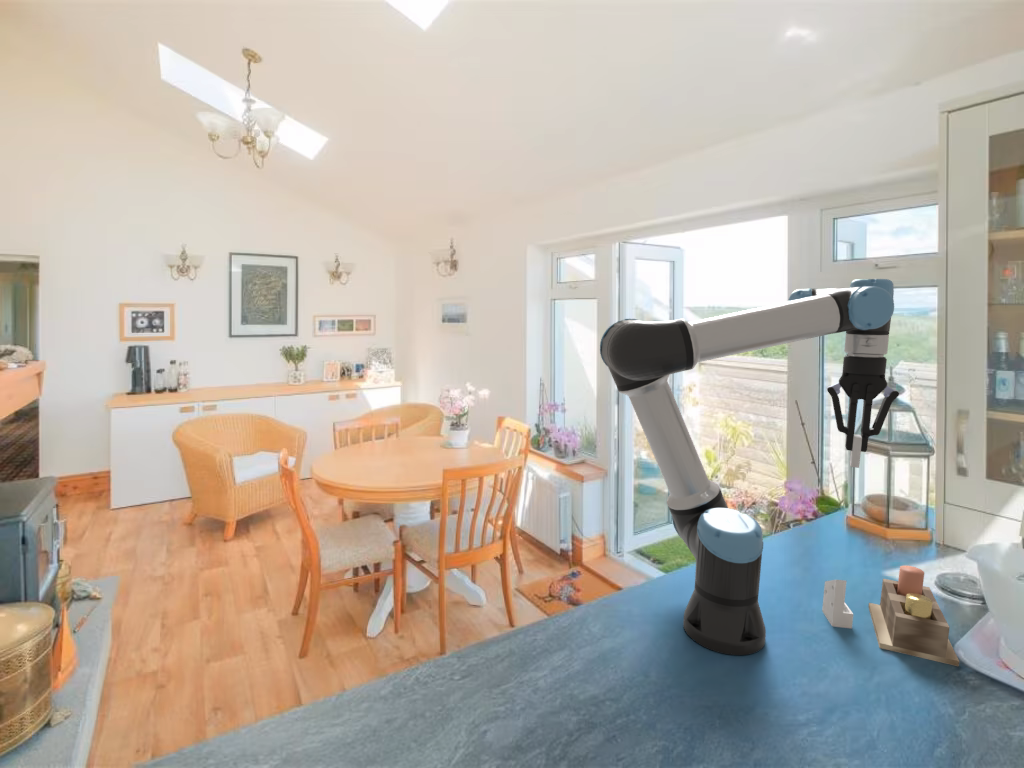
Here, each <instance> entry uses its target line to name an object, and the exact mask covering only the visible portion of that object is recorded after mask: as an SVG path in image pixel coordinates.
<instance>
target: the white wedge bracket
mask: <svg viewBox="0 0 1024 768" xmlns="http://www.w3.org/2000/svg"><path fill="white" fill-rule="evenodd" d="M823 588H824V589H823V599H822V609H821V612H822V613H823V615H824V616H825V618H826V619H827V621H828V622H829V624H830V625H831V627H836V628H843V629H844V628H845V629H853V622H854V613H853V611H852V610H851V608H850V607H849V606H848V604H847V603H846V602H845V601H846V599H845V598H846V589H847V580H843V579H832V580H826V581H824V586H823Z"/></svg>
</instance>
